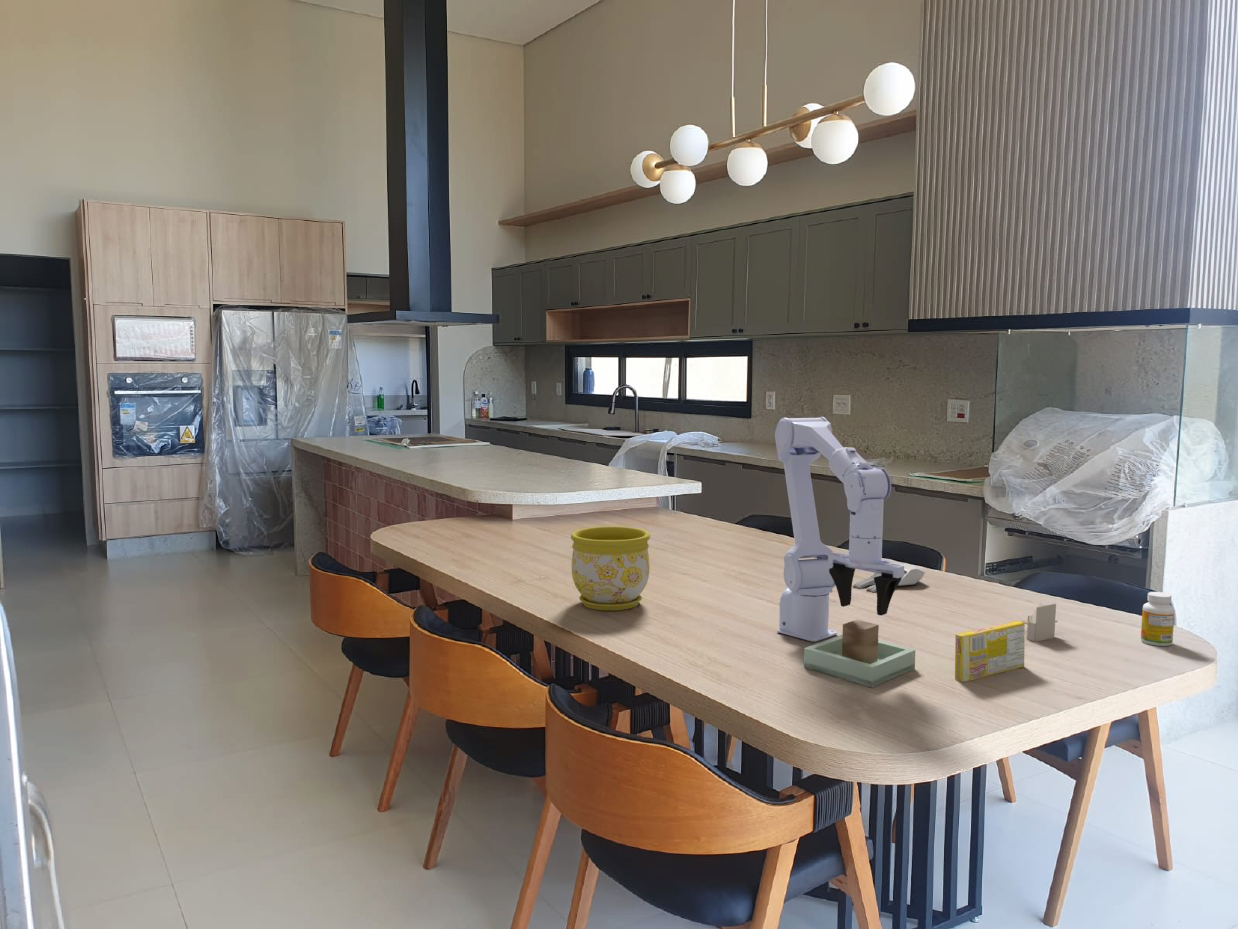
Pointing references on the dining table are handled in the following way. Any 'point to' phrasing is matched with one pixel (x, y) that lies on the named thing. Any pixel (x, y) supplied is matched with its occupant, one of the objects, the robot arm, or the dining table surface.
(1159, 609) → the supplement bottle
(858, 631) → the walnut block
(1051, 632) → the architectural model
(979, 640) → the candy box
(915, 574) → the turret
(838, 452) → the robot arm
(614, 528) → the flowerpot
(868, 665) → the bin
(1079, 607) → the dining table surface
